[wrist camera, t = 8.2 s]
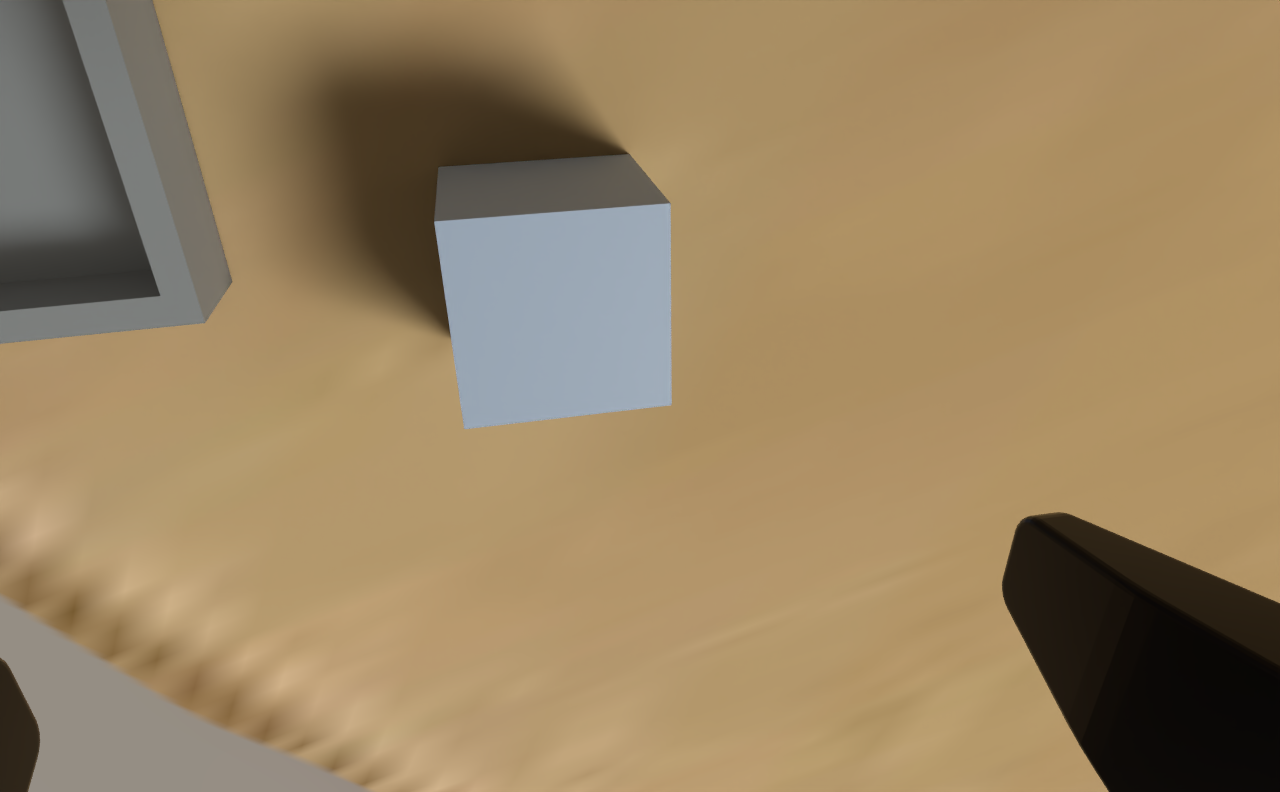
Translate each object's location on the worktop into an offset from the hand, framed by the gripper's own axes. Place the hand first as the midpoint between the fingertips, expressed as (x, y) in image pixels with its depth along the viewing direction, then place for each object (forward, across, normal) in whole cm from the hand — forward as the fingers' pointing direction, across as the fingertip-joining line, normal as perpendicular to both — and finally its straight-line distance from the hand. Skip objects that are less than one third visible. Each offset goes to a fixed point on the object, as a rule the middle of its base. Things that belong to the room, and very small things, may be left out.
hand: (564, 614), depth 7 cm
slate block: (+12, -1, +1) cm, 12 cm away
